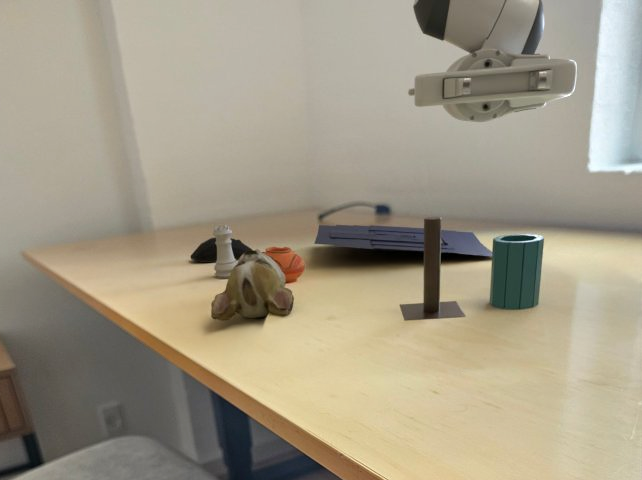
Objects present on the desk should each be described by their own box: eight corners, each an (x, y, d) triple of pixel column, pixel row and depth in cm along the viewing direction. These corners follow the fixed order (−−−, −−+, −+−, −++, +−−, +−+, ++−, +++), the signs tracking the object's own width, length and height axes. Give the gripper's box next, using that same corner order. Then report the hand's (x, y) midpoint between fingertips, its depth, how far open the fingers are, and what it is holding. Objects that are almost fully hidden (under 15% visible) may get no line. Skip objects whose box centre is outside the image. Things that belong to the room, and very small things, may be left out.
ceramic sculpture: (294, 234, 90) (287, 263, 77) (300, 296, 94) (294, 333, 81) (217, 240, 90) (198, 270, 78) (227, 301, 95) (210, 339, 82)
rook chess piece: (225, 272, 114) (219, 224, 110) (246, 273, 112) (240, 224, 108) (209, 278, 111) (202, 228, 107) (230, 279, 109) (224, 229, 105)
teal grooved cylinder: (529, 307, 81) (535, 232, 77) (542, 320, 76) (549, 240, 72) (485, 310, 82) (489, 235, 78) (495, 323, 77) (499, 244, 73)
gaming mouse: (269, 257, 123) (267, 235, 122) (190, 264, 122) (187, 242, 120) (267, 251, 129) (265, 230, 127) (191, 258, 128) (188, 237, 126)
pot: (260, 280, 104) (266, 237, 101) (307, 292, 103) (314, 249, 100) (241, 291, 98) (247, 245, 94) (290, 304, 96) (298, 258, 93)
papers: (318, 237, 130) (319, 218, 129) (470, 246, 129) (473, 227, 128) (312, 262, 109) (314, 240, 107) (494, 273, 108) (498, 250, 106)
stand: (456, 312, 82) (459, 211, 76) (465, 329, 76) (469, 220, 70) (399, 316, 82) (398, 215, 77) (404, 332, 76) (404, 225, 71)
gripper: (406, 66, 90) (417, 60, 78) (558, 53, 89) (594, 44, 76) (406, 118, 93) (416, 119, 81) (554, 106, 91) (587, 105, 79)
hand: (504, 82), depth 78 cm, fingers open, 8 cm apart
